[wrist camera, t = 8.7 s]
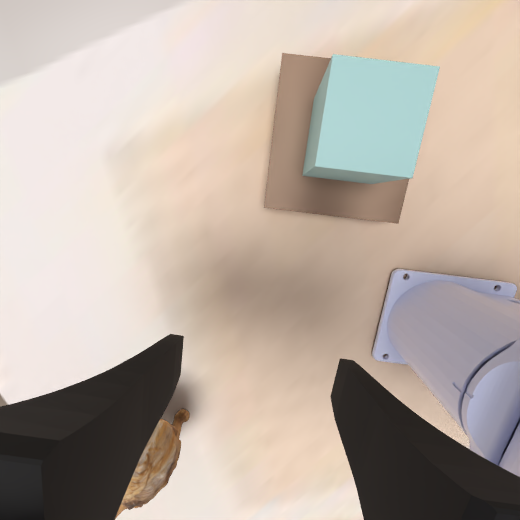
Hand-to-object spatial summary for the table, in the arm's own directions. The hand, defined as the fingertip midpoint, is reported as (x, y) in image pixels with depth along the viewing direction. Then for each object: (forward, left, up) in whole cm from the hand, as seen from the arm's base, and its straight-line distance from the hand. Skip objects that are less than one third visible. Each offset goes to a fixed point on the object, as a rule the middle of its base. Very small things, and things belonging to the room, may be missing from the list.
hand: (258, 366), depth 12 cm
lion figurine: (+9, +15, -10) cm, 20 cm away
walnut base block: (-4, -11, -10) cm, 16 cm away
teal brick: (-4, -11, -7) cm, 14 cm away
